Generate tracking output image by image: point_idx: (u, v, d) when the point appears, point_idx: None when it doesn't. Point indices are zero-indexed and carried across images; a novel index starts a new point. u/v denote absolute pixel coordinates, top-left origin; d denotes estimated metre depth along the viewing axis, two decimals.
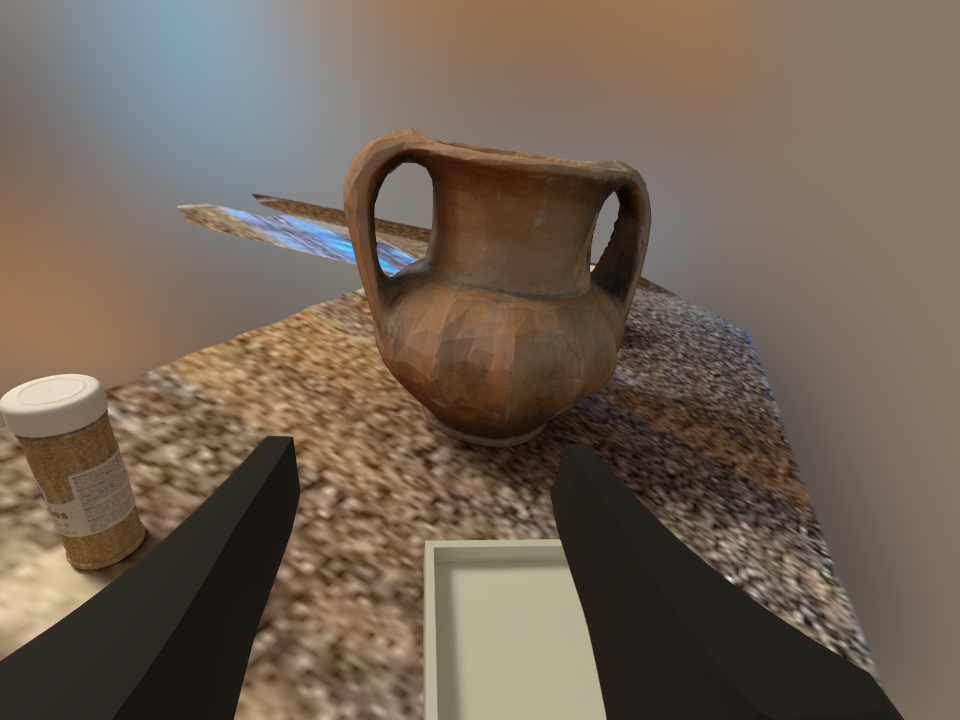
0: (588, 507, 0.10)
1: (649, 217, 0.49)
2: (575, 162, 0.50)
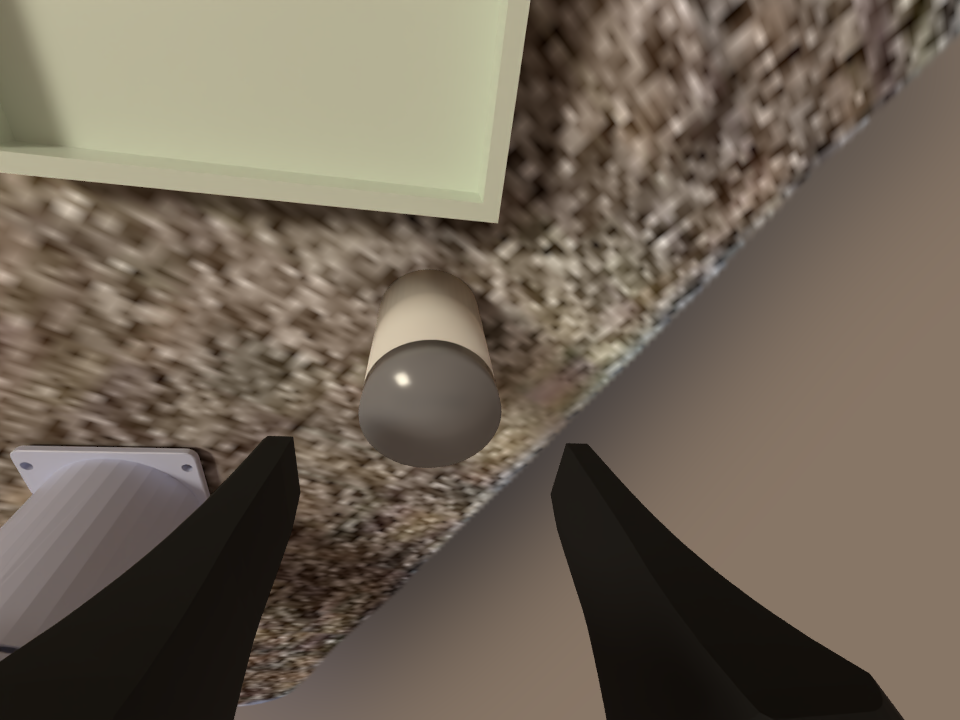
0: (588, 507, 0.10)
1: None
2: None
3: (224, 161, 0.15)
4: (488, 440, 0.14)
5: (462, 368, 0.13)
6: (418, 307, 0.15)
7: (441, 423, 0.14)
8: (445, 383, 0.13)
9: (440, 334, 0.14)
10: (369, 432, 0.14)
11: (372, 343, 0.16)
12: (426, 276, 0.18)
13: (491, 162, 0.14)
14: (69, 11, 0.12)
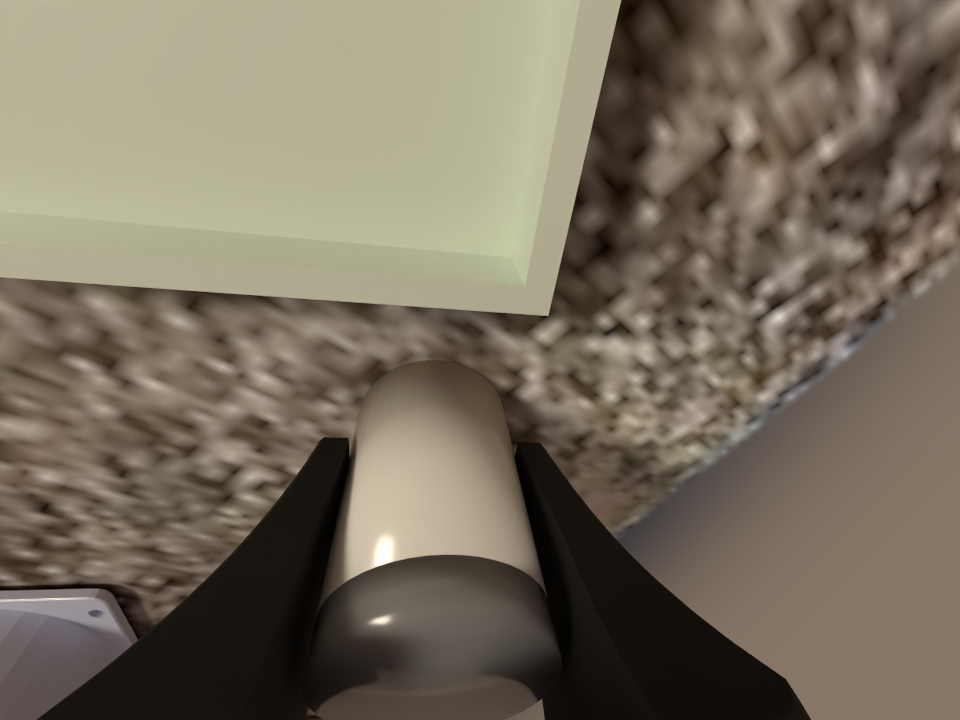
0: (533, 507, 0.10)
1: None
2: None
3: (84, 214, 0.09)
4: (535, 698, 0.08)
5: (497, 627, 0.07)
6: (414, 454, 0.09)
7: (453, 691, 0.08)
8: (463, 646, 0.07)
9: (452, 533, 0.08)
10: (325, 711, 0.08)
11: None
12: (428, 376, 0.12)
13: (543, 220, 0.08)
14: None
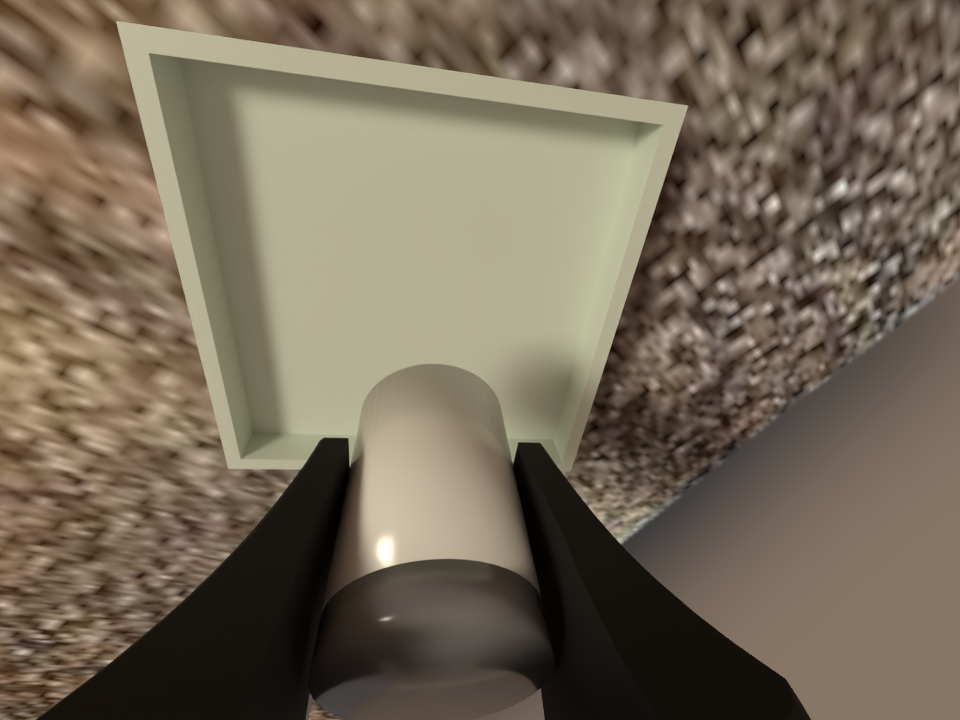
0: (533, 507, 0.10)
1: None
2: None
3: None
4: (534, 687, 0.09)
5: (481, 627, 0.07)
6: (404, 460, 0.09)
7: (452, 685, 0.08)
8: (453, 645, 0.07)
9: (439, 538, 0.08)
10: (334, 707, 0.08)
11: None
12: (420, 381, 0.12)
13: (569, 443, 0.21)
14: (305, 372, 0.19)
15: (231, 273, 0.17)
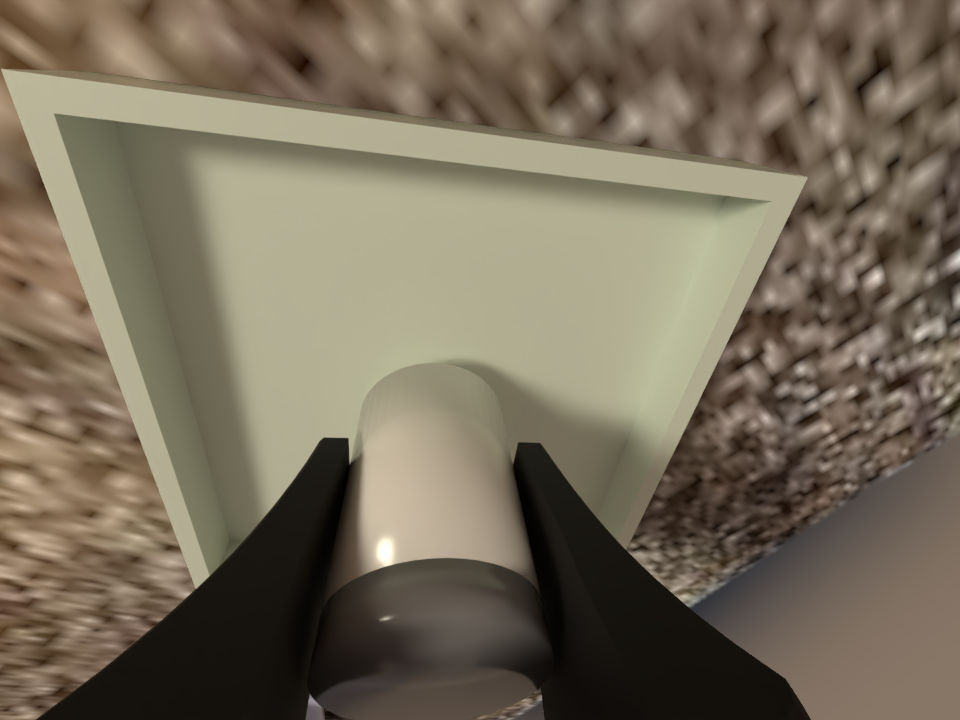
0: (533, 507, 0.10)
1: None
2: None
3: None
4: (534, 686, 0.09)
5: (481, 626, 0.07)
6: (404, 460, 0.09)
7: (452, 683, 0.08)
8: (452, 645, 0.07)
9: (438, 537, 0.08)
10: (333, 706, 0.08)
11: (340, 512, 0.10)
12: (420, 380, 0.12)
13: None
14: (292, 477, 0.16)
15: (195, 371, 0.13)
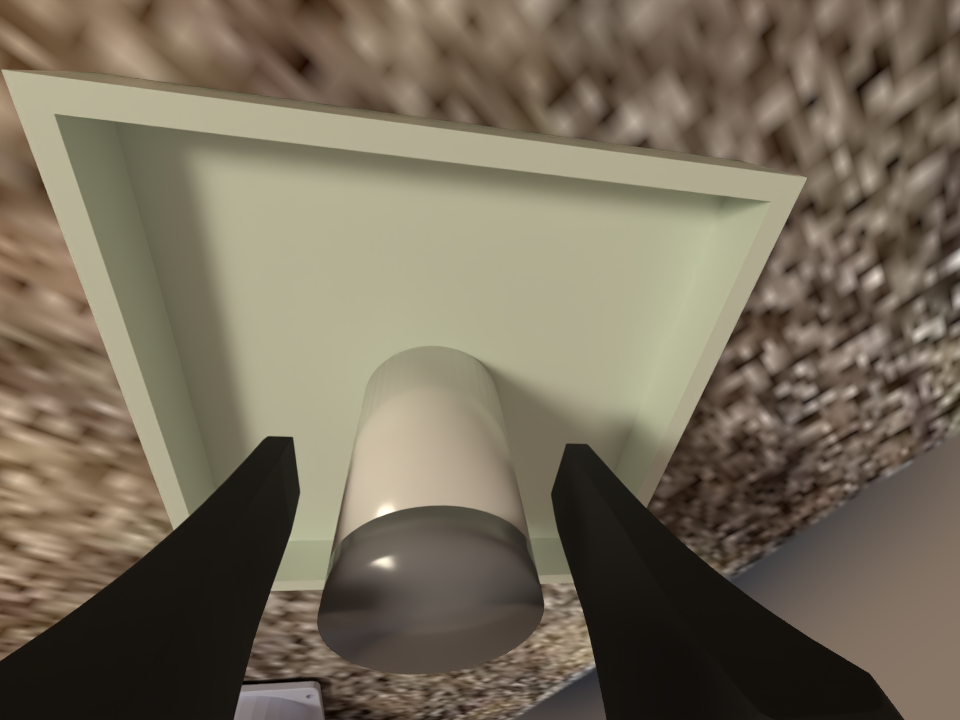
0: (588, 507, 0.10)
1: None
2: None
3: None
4: (526, 634, 0.09)
5: (476, 562, 0.08)
6: (406, 426, 0.10)
7: (450, 626, 0.09)
8: (450, 582, 0.08)
9: (438, 488, 0.09)
10: (340, 648, 0.09)
11: None
12: (420, 360, 0.13)
13: None
14: None
15: (195, 371, 0.13)
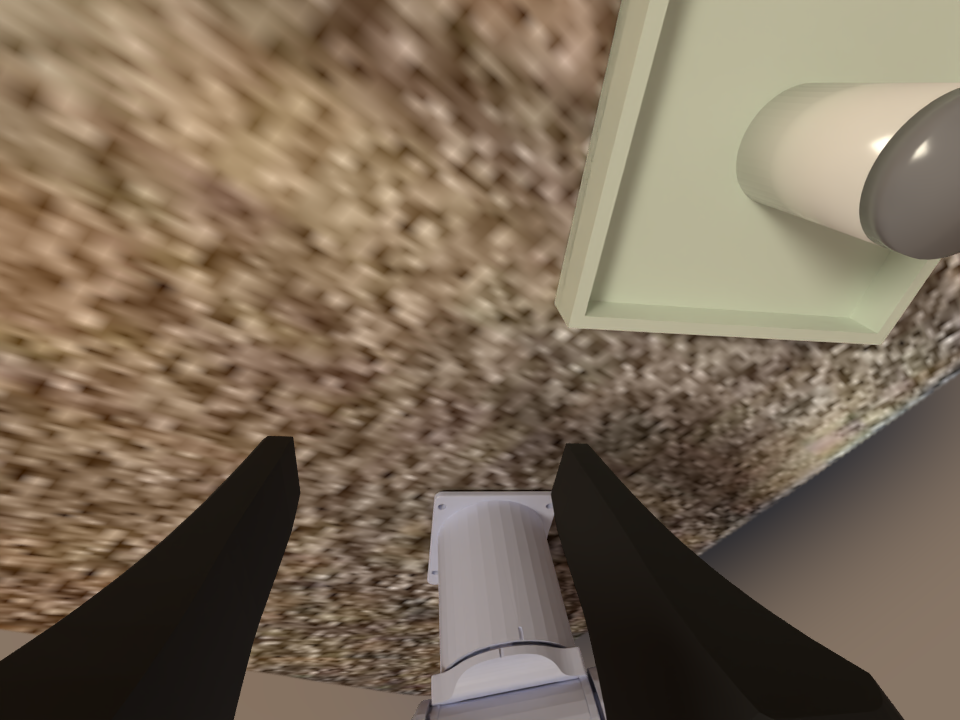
0: (588, 507, 0.10)
1: None
2: None
3: (695, 306, 0.21)
4: None
5: None
6: (885, 84, 0.13)
7: None
8: None
9: None
10: (898, 206, 0.12)
11: (818, 140, 0.14)
12: None
13: (895, 309, 0.20)
14: (652, 226, 0.19)
15: None
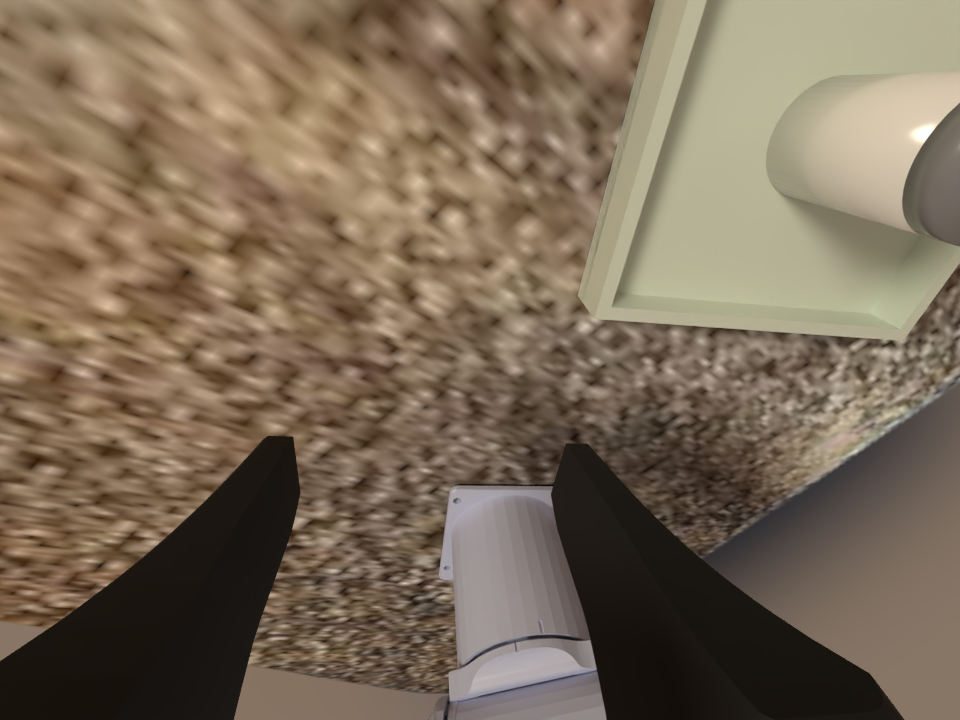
0: (588, 507, 0.10)
1: None
2: None
3: (719, 299, 0.21)
4: None
5: None
6: (927, 73, 0.13)
7: None
8: None
9: None
10: (946, 192, 0.12)
11: (858, 128, 0.14)
12: None
13: (919, 304, 0.20)
14: (679, 218, 0.19)
15: None
